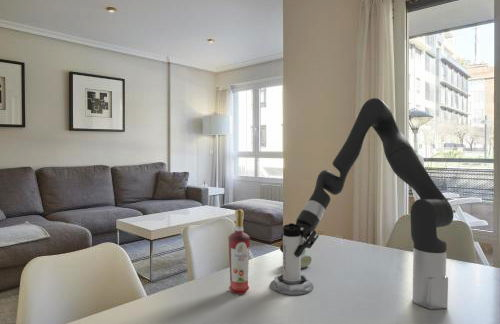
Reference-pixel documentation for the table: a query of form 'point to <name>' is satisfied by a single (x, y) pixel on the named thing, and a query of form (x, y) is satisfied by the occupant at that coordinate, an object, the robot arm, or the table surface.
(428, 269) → the robot arm
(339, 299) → the table surface
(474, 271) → the table surface
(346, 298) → the table surface
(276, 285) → the collar
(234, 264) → the liquor
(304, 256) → the air freshener
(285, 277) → the travel mug
